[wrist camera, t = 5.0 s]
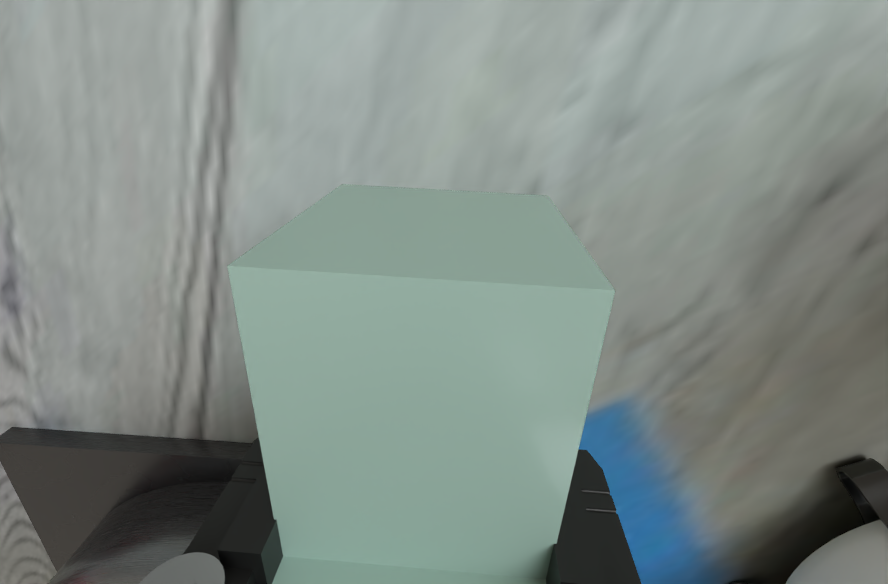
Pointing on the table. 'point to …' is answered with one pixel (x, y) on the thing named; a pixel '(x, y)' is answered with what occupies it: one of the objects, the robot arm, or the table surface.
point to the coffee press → (854, 534)
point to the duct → (115, 497)
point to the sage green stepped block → (420, 382)
